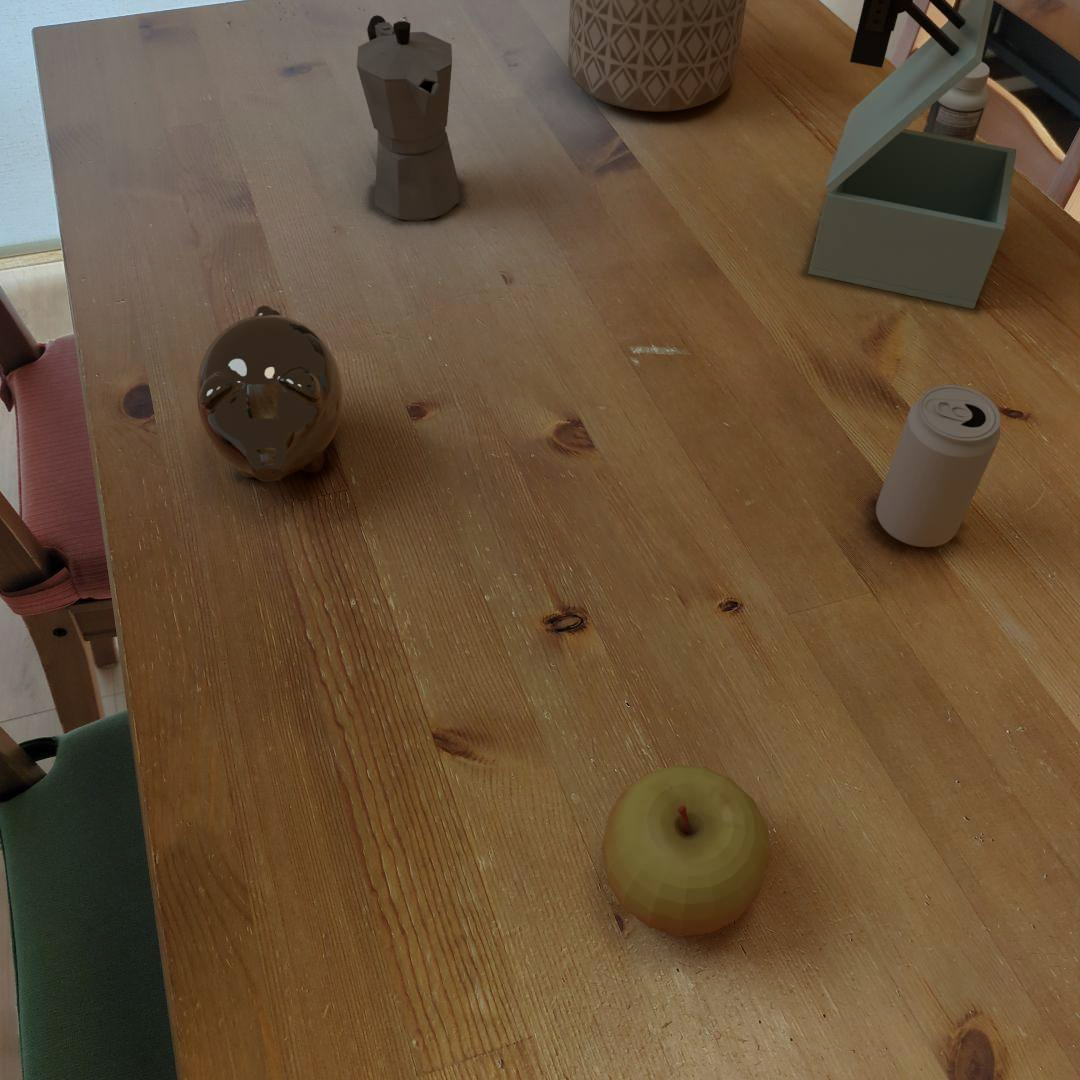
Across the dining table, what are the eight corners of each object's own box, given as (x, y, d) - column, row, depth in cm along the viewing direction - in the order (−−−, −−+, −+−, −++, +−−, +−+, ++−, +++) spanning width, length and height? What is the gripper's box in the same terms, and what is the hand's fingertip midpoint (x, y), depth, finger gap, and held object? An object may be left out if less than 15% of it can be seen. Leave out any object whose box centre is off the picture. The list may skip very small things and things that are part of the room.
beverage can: (951, 562, 85) (1002, 453, 75) (866, 539, 86) (906, 429, 77) (961, 503, 88) (1011, 392, 79) (880, 482, 90) (920, 371, 81)
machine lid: (996, -12, 96) (926, -84, 93) (981, 62, 87) (903, -14, 85) (855, 117, 108) (790, 56, 106) (830, 192, 100) (759, 128, 98)
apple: (621, 783, 73) (630, 721, 67) (769, 824, 71) (792, 764, 65) (581, 926, 67) (586, 872, 61) (742, 974, 65) (764, 924, 59)
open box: (987, 228, 112) (1016, 149, 105) (973, 309, 104) (1004, 229, 97) (832, 197, 115) (851, 118, 108) (807, 274, 107) (826, 194, 100)
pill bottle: (924, 135, 123) (950, 49, 115) (973, 148, 121) (1002, 61, 114) (911, 160, 120) (937, 72, 112) (961, 173, 118) (991, 85, 111)
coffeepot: (485, 218, 112) (479, 43, 98) (398, 242, 110) (379, 67, 96) (426, 143, 121) (413, -27, 107) (344, 164, 118) (320, -8, 104)
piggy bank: (208, 526, 86) (171, 420, 77) (220, 394, 96) (189, 286, 87) (353, 514, 87) (333, 408, 78) (351, 384, 97) (332, 276, 88)
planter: (648, 24, 138) (660, -120, 126) (767, 84, 129) (793, -65, 117) (533, 77, 130) (533, -72, 117) (653, 144, 121) (667, -9, 108)
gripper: (915, -320, 84) (847, -11, 102) (877, -243, 73) (808, 90, 91) (1017, -309, 83) (930, 3, 101) (994, -229, 71) (901, 107, 89)
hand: (872, 43), depth 96 cm, fingers closed on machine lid, 6 cm apart
